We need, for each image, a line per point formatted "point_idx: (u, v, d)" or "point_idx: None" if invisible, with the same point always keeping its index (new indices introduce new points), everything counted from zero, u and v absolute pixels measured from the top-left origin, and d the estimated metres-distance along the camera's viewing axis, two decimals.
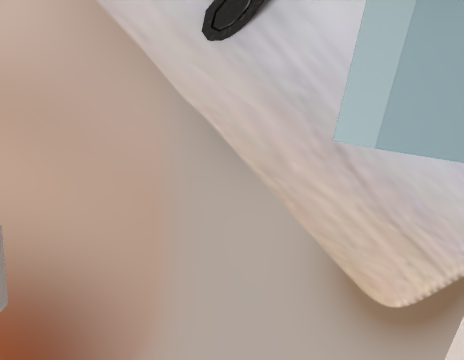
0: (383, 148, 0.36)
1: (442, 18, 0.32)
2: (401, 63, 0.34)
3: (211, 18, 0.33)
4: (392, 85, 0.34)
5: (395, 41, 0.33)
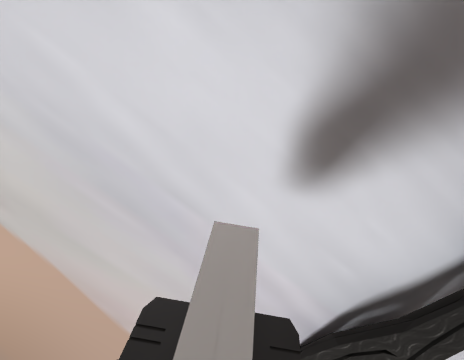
0: None
1: None
2: None
3: None
4: None
5: None
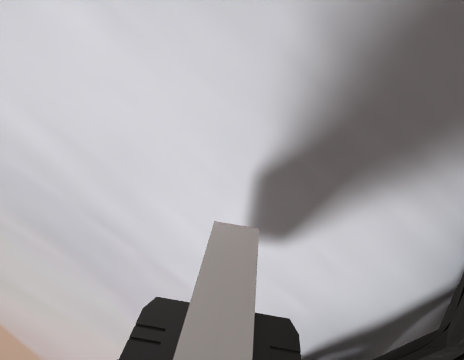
0: None
1: None
2: None
3: None
4: None
5: None
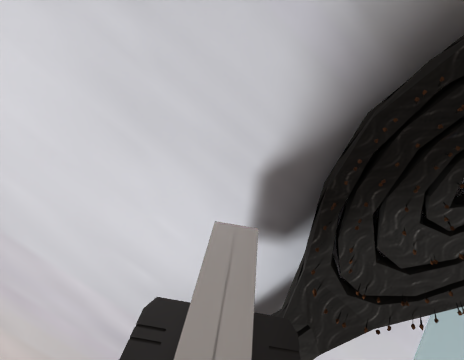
0: None
1: None
2: None
3: None
4: None
5: None
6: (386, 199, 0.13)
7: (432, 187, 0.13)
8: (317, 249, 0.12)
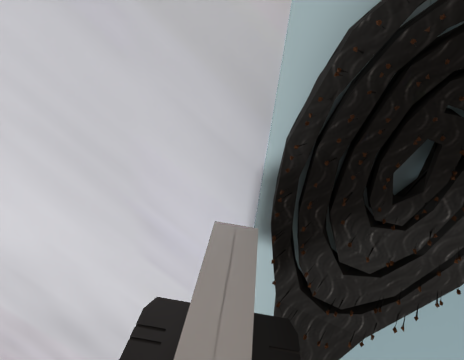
0: None
1: None
2: None
3: None
4: None
5: None
6: (330, 213, 0.13)
7: (370, 189, 0.13)
8: (274, 282, 0.13)
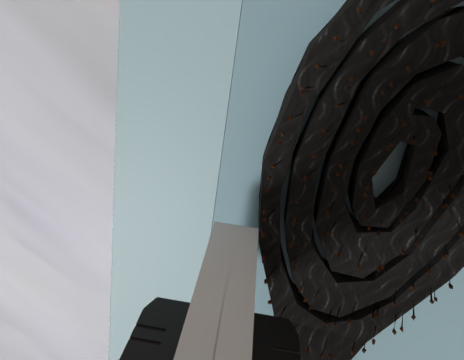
0: None
1: None
2: None
3: None
4: None
5: None
6: (316, 224, 0.13)
7: (352, 196, 0.13)
8: (269, 302, 0.12)
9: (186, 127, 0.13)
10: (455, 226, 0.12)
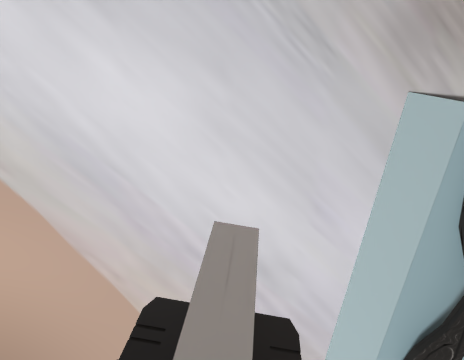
0: None
1: (436, 287, 0.30)
2: (392, 322, 0.31)
3: None
4: (382, 341, 0.32)
5: (386, 303, 0.31)
6: None
7: None
8: None
9: (424, 170, 0.27)
10: None
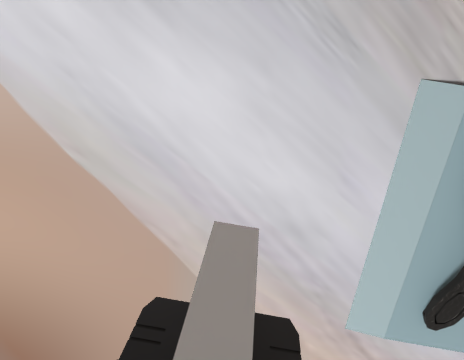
0: (391, 338, 0.40)
1: (445, 243, 0.36)
2: (408, 275, 0.37)
3: (433, 319, 0.37)
4: (400, 291, 0.38)
5: (403, 258, 0.37)
6: None
7: None
8: None
9: (434, 145, 0.33)
10: None
